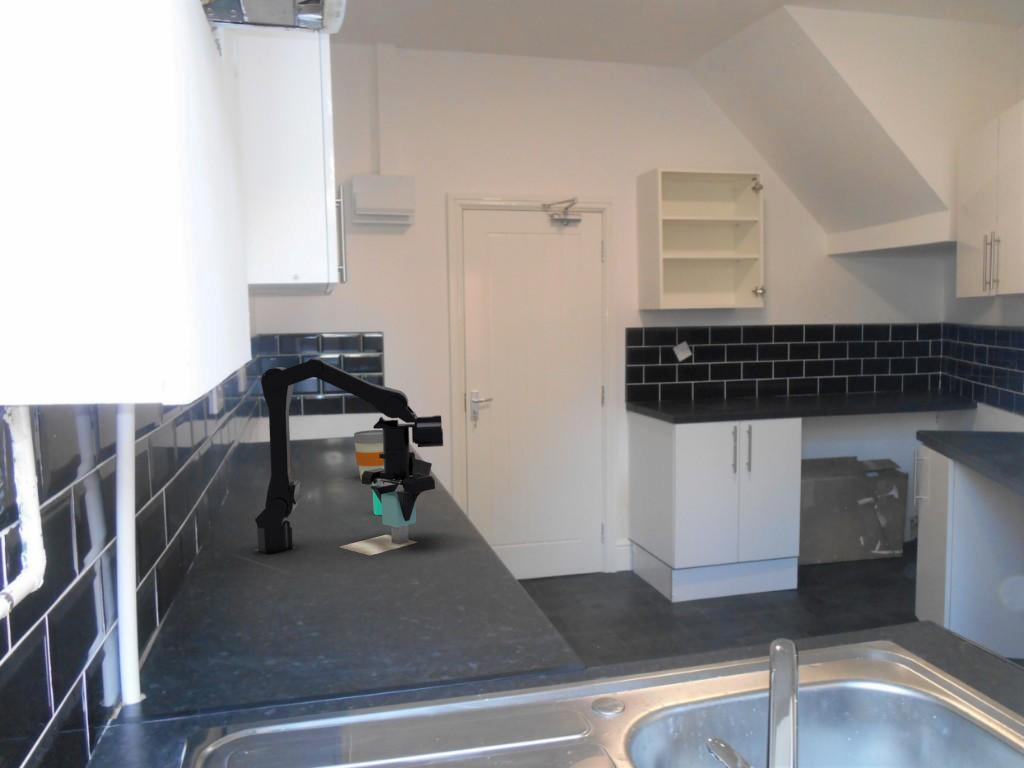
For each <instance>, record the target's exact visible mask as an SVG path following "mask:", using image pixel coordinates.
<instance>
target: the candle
mask: <svg viewBox="0 0 1024 768" xmlns="http://www.w3.org/2000/svg"><path fill="white" fill-rule="evenodd" d="M383 469H384V467H383ZM393 480H395V479H393ZM395 491H397V489H396V490H395ZM372 499H373V501H372V503H373V504H372V505H373V514H375V516H378V515H382V504H381V502H380V500H379V499H378V497H377V495H376V494H375V492H374V491H373V490H372Z"/></svg>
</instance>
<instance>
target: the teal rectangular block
mask: <svg viewBox="0 0 1024 768" xmlns="http://www.w3.org/2000/svg"><path fill="white" fill-rule="evenodd" d="M398 491H402V489H401V490H396V491H394V492H390V493H385V494H381V501H382V516H381V522H382V525H385V526H389V527H391V526H393V527H397V528H398V527H402V526H406V525H408V526H409V525H413V524H416V523H417V518H416V517H417V513H416V511H417V510H416V503H415V504H414V507H413V511H412V514H411V517H410V520H409V521H405V520H404V517H403V514H402V510H401V506H400V502H399V499H398V495H397V492H398Z"/></svg>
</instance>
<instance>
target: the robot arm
mask: <svg viewBox="0 0 1024 768" xmlns="http://www.w3.org/2000/svg"><path fill="white" fill-rule="evenodd" d="M312 378H316V379H319V380H320V381H322V382H324V383H327V384H329V385H332V386H334V387H335V388H338V389H340V390H342V391H344V392H347V393H348V394H351V395H353V396H355V397H357V398H360V399H361V400H363V401H365V402H366V403H368V404H369V405H370V406H372V407H373V408H374V409H375V410H377V411H378V412H380V413H381V414H382V415H384V417H385V416H386V417H387V418H390V419H384V417H383V416H380V417H379V419H378V420H377V422H376V423H374V425H373V430H382V431H383V453H380V454H379V458H382V459H384V469H383V468H378V469H372V470H367V471H364V473H363V474H362V480H361V484H362V485H368V486H370V485H371V486H370V489H371V490H372V492H373V491H374V492H375V494H376V495H377V497H378V499H379V500H380V502H381V504H382V501H381V494H385V493H390V492H394V491H395V490H396V491H398V492H397V495H398V499H399V502H400V506H401V510H402V514H403V517H404V520H405V521H409V520H410V517H411V514H412V511H413V507H414V504H415V505H416V501H417V499H418V496H419V495H421V494H422V493H424V492H426V491H432V490H436V479H435V477H433V476H432V475H430V474H431V470H432V466H433V463H431V462H429V461H425V460H421V459H417V458H416V454H415V452H414V451H410V449H411V447H410V446H411V445H410V429H411V440H412V444H414V445H417V448H431V447H433V448H435V447H444V432H443V431H444V430H443V427H442V423H443V422H442V415H439V414H437V415H432V416H418V415H417V414H416V412H415V411H414V410H413V409H412V408H411V407H410V405H409V399H408V396H407V395H406V393H405V392H403V391H401V390H398V389H396V388H391V387H387V386H384V385H379V384H375V383H371V382H370V381H367V380H365V379H363V378H360V377H358V376H357V375H354V374H352V373H350V372H348V371H345V370H343V369H341V368H339V367H336V365H335V366H334V365H333V364H330V363H328V362H326V361H325V360H324V359H322V358H320V357H312V358H310V359H308V361H305V362H302V363H299V364H296V365H292V366H290V367H287V368H286V367H283V366H278V367H272V368H269V369H268V370H266V371H265V372H264V373H263V374H262V375H261V378H260V385H261V390H262V394H263V398H264V401H265V404H266V407H267V410H268V423H269V424H268V426H269V428H268V429H269V456H270V479H269V483H268V486H267V491H266V492H267V493H266V499H265V508H264V509H263V510H262V511H261V512H260V513H259V514H258V515H257V517H255V519H254V521H255V524H256V533H257V535H256V536H257V548H254V551H256V552H259V553H262V554H265V555H269V556H270V555H274V554H278V553H282V552H285V551H286V552H287V551H292V550H294V549H296V547H294V546H293V545H294V543H293V542H294V538H293V527H291V521H290V520H287V519H288V518H289V516H290V515H291V514H292V512H293V511H294V510H295V509H296V507H297V506H298V504H299V501H300V500H301V499H302V496H301V494H300V487H301V480H294V478H293V475H292V471H291V465H292V464H291V439H290V438H291V436H290V412H289V411H290V405H291V402H292V396H293V391H294V386H295V385H296V384H298V383H300V382H303V381H306V380H309V379H312ZM399 419H400V420H401V421H402V422H404V423H399ZM393 479H395V480H393ZM399 485H400V486H402V488H403V490H402V489H401V491H399V490H397V488H398V486H399Z"/></svg>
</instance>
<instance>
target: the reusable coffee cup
mask: <svg viewBox="0 0 1024 768" xmlns="http://www.w3.org/2000/svg"><path fill="white" fill-rule="evenodd" d="M353 443H354V447H355V450H354V455H355V460H356V465H358V470H359V471H358V472H359V477H360V481H362V474H363V473H364V471H367V470H372V469H378V468H383V467H384V459H382V458H379V454H380V453H383V431H382V429H372V430H368V429H367V430H361V431H356V432H354V433H353Z"/></svg>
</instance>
